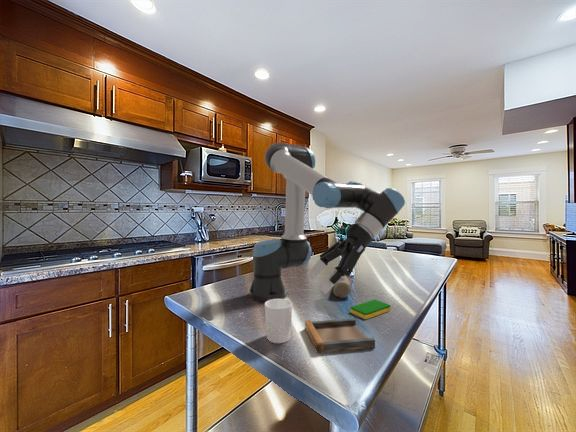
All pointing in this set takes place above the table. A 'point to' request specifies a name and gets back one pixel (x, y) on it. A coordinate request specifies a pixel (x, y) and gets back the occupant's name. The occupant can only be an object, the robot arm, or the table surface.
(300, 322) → the table surface
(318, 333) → the wooden tray
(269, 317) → the white cup
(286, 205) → the robot arm
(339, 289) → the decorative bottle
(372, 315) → the dish sponge
